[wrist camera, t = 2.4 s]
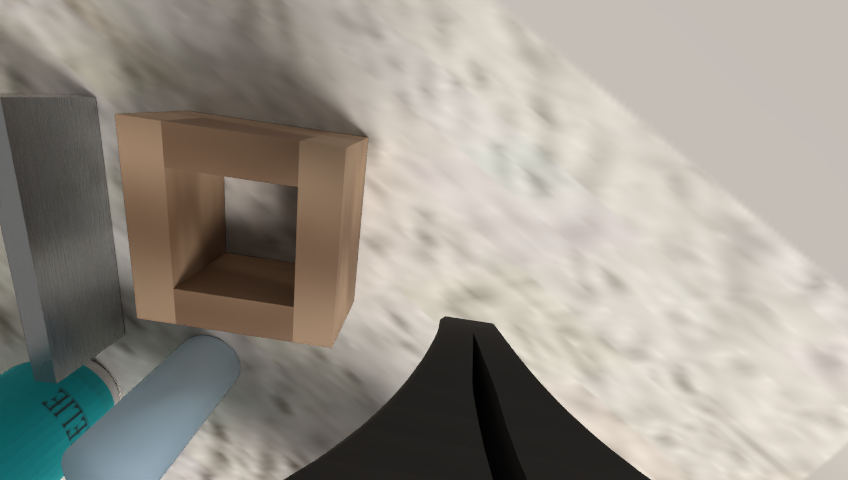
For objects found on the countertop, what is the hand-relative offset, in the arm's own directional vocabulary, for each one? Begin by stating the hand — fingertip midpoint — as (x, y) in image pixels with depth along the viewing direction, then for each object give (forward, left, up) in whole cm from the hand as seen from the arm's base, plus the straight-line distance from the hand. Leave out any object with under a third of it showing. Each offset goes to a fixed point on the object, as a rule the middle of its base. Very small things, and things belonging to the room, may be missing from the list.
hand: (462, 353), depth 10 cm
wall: (-2, +17, -9) cm, 19 cm away
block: (0, +8, -9) cm, 12 cm away
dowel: (-9, +12, -9) cm, 17 cm away
